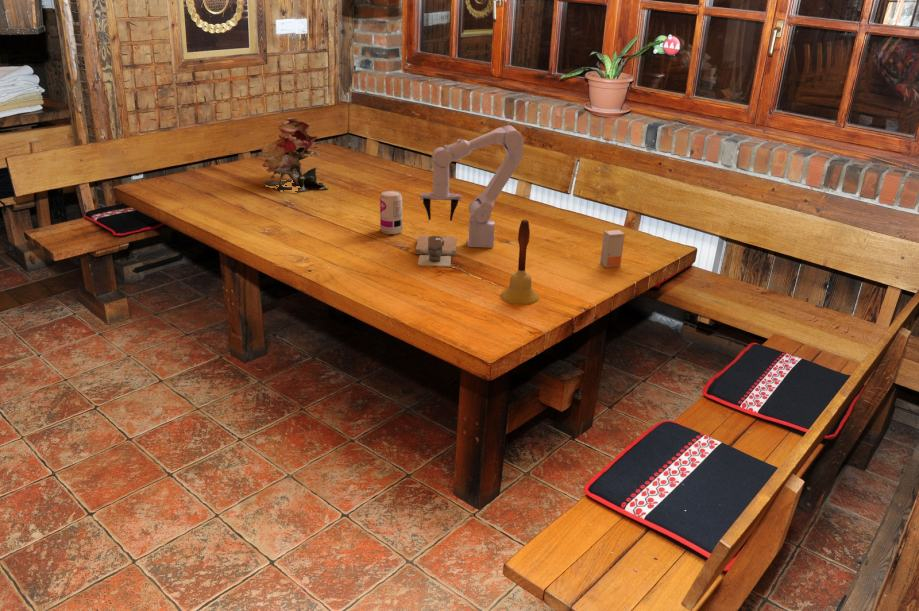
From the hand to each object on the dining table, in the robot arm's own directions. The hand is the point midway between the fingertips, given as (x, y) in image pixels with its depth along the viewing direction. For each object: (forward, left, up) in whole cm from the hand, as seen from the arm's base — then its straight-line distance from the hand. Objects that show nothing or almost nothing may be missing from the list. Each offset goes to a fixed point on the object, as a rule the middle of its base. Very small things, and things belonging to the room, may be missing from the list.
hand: (440, 219), depth 276 cm
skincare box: (-60, +13, -10) cm, 62 cm away
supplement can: (+19, -13, -10) cm, 25 cm away
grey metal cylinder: (+1, +16, -9) cm, 19 cm away
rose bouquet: (+69, -68, -10) cm, 98 cm away
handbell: (-27, +43, -10) cm, 52 cm away
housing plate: (+1, +3, -10) cm, 10 cm away
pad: (+1, +16, -10) cm, 19 cm away
